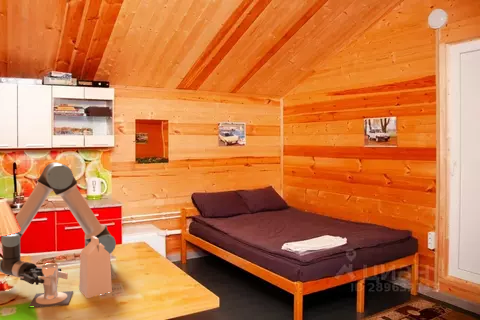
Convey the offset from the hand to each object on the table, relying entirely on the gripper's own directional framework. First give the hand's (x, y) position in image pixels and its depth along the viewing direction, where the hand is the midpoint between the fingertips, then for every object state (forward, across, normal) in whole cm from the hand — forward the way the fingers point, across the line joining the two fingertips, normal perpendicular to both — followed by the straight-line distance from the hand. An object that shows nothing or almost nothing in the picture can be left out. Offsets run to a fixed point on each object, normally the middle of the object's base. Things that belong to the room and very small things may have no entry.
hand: (58, 279), depth 186 cm
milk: (+4, -17, -11) cm, 21 cm away
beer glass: (-5, 0, -10) cm, 11 cm away
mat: (-5, 0, -10) cm, 12 cm away
